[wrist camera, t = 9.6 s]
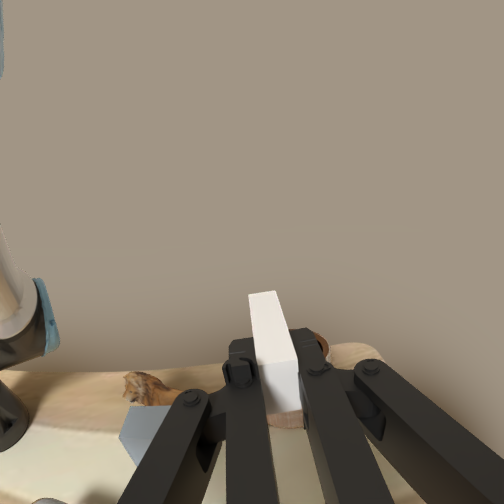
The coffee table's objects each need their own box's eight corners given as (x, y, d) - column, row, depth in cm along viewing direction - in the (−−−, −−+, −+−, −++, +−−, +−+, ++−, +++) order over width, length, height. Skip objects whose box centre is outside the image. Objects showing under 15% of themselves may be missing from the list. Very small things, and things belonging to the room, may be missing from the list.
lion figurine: (134, 429, 38) (110, 383, 35) (149, 407, 43) (129, 361, 40) (230, 444, 34) (214, 396, 32) (239, 417, 39) (227, 368, 37)
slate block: (193, 490, 27) (164, 438, 25) (152, 489, 27) (118, 437, 25) (196, 459, 32) (172, 405, 30) (159, 459, 32) (130, 406, 30)
